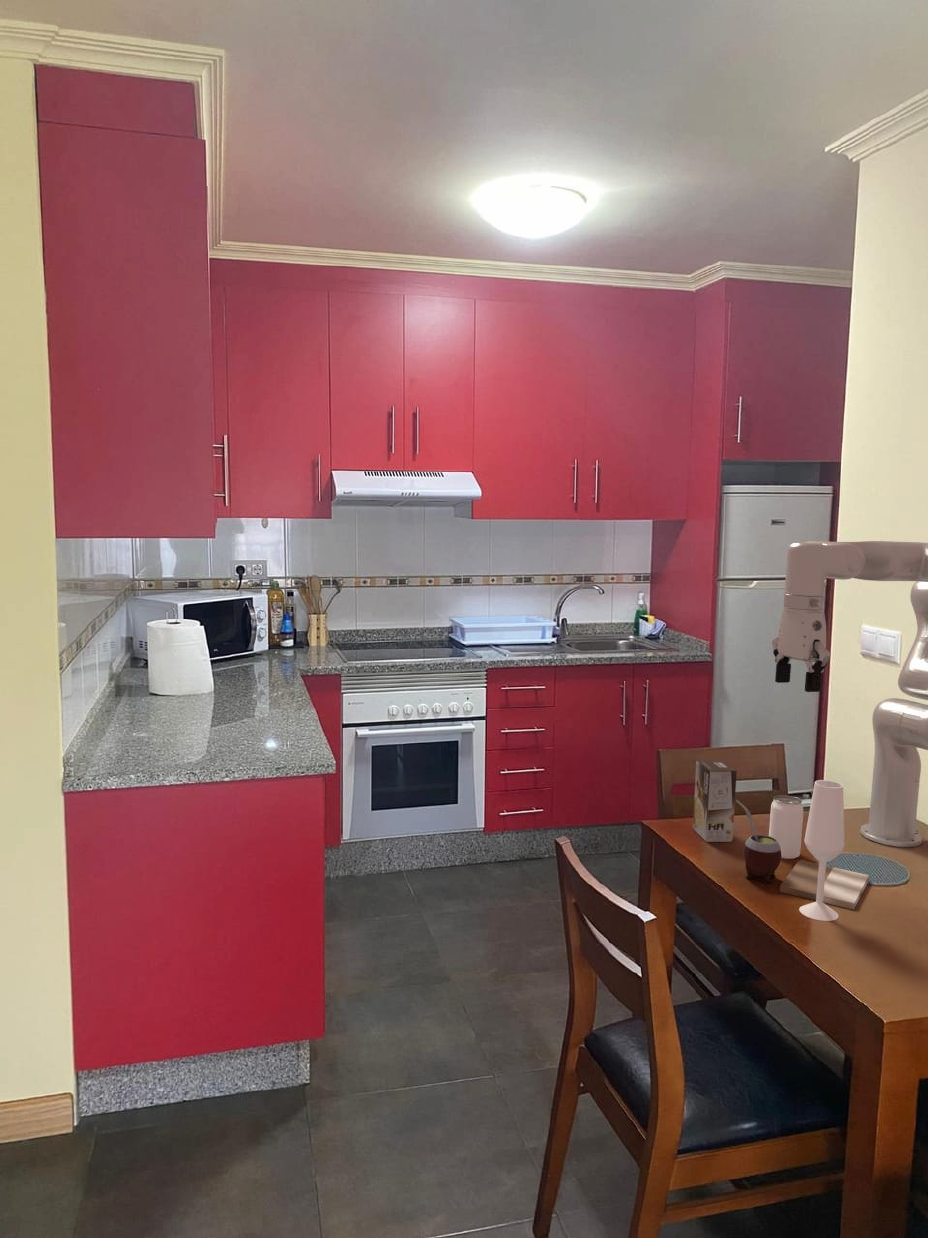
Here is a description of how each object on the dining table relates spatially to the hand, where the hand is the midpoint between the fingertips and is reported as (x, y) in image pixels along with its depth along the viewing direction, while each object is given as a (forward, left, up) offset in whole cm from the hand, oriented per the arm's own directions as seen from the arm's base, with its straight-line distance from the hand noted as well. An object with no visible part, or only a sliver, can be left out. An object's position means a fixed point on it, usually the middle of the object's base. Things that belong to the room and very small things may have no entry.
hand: (796, 686), depth 185 cm
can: (-3, -1, -37) cm, 37 cm away
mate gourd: (+14, -2, -37) cm, 39 cm away
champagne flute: (+23, +12, -37) cm, 45 cm away
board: (+10, +10, -37) cm, 39 cm away
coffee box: (-5, -17, -37) cm, 41 cm away
